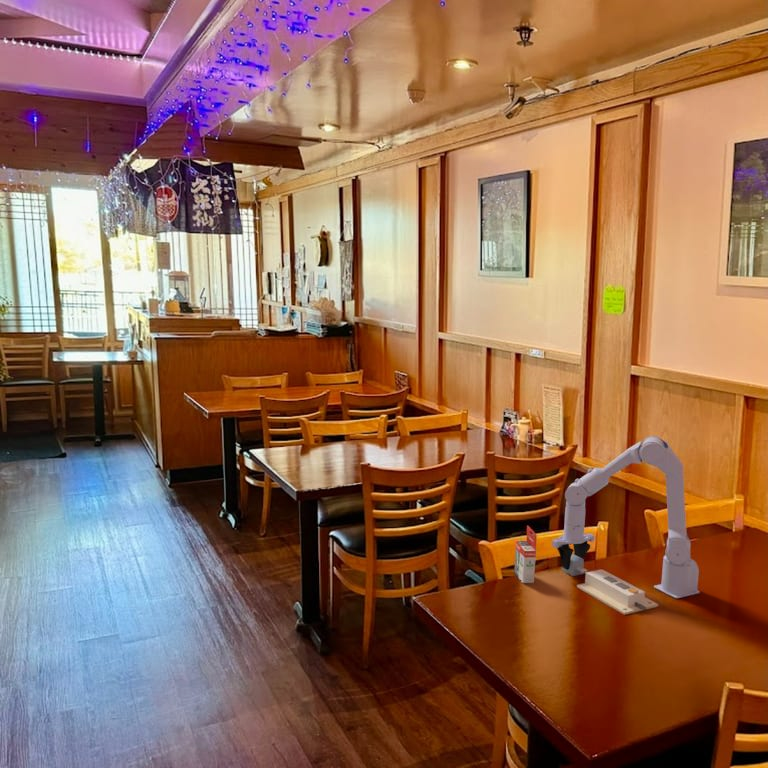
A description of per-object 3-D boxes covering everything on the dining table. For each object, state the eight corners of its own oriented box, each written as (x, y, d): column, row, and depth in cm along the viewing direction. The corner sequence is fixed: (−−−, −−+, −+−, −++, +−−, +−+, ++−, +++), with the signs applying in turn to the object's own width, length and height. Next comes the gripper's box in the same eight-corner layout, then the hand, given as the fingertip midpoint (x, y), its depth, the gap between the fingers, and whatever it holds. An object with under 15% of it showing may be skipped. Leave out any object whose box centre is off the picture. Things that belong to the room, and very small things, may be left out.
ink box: (522, 583, 191) (524, 534, 189) (513, 572, 199) (515, 525, 197) (534, 583, 192) (537, 534, 190) (525, 572, 200) (527, 524, 198)
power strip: (608, 580, 195) (609, 565, 195) (661, 608, 178) (662, 592, 178) (576, 587, 190) (577, 572, 189) (627, 616, 173) (628, 600, 172)
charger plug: (572, 568, 203) (573, 554, 203) (590, 577, 196) (591, 563, 196) (562, 570, 201) (563, 556, 201) (579, 580, 195) (580, 565, 194)
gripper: (583, 516, 205) (581, 558, 207) (546, 522, 199) (543, 565, 201) (600, 523, 199) (597, 567, 201) (562, 529, 193) (559, 574, 195)
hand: (571, 567), depth 200 cm, fingers closed on charger plug, 4 cm apart
